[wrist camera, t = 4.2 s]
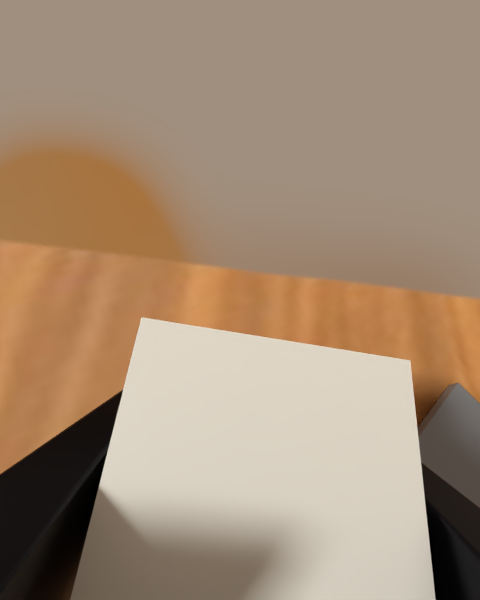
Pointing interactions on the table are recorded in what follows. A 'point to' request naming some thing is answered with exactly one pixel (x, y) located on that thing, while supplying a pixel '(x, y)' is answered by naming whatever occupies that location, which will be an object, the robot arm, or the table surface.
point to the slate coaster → (453, 441)
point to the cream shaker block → (258, 475)
